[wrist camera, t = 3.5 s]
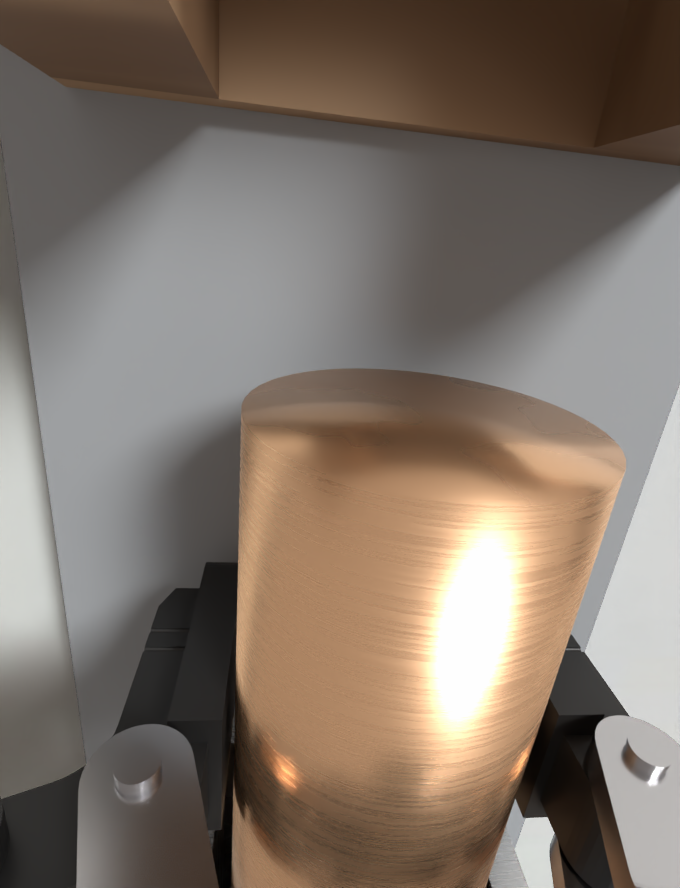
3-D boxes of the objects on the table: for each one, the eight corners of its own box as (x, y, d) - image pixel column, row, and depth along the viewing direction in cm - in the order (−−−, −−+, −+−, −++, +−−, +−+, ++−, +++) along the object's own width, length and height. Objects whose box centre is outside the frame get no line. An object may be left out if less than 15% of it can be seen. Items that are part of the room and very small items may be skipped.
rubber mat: (457, 950, 19) (465, 985, 19) (129, 975, 18) (120, 1015, 17) (923, -478, 7) (1025, -590, 6) (-81, -802, 5) (-160, -1026, 4)
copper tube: (384, 962, 15) (420, 1227, 11) (235, 974, 15) (215, 1257, 11) (521, 378, 8) (734, 513, 4) (253, 360, 8) (218, 493, 4)
